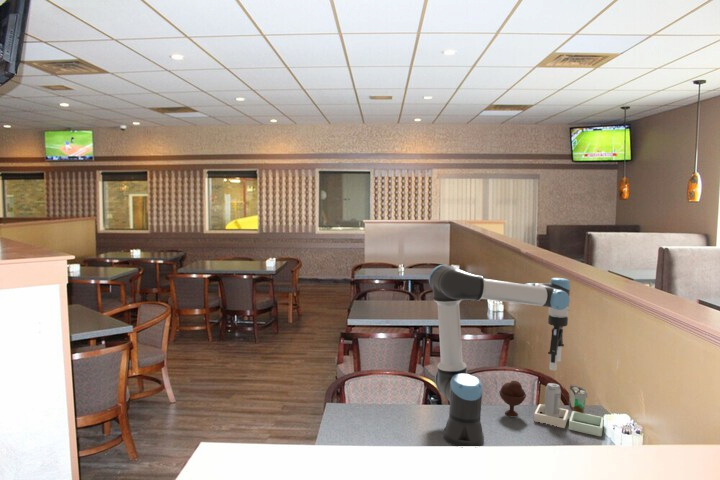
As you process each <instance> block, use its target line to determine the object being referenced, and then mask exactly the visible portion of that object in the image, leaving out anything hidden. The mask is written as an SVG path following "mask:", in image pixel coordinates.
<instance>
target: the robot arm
mask: <svg viewBox="0 0 720 480" xmlns="http://www.w3.org/2000/svg"><path fill="white" fill-rule="evenodd" d="M428 276H429V277H428V283H429V285H430V288H431V289H432V297H433V298H432V299H433V302H435V303H436V304H437V317H438V321H437V322H438V334H439V335H438V336H439V350H440V351H439V352H440V353H439V354H440V361H439V362H438V364H437V371H436V373H435V375H434V376H435V377H434V383H435V386H436V388H437V390H438V392H440V394H442V395H443V396H444V398H445V399H446V400H447V401H448V402H449V411H448V412H449V414H448V415H449V416H448V418H447V421H446V424H445V427H444V428H443V439H444V440H445V442H447V443H448V444H450V445H453V446H455V447H458V446H479V447H480V446H483V445H484V443H485V433H484V431H483V427H482V422H481V416H482V415H481V414H482V401H483V398H482V397H483V383H482V381H481V380H480V379H479V378H478V377H476V376H475V375H472V374H469V373H468V371H467V370H468V369H467V367H468V366H467V363H465V362H464V361H463V347H462V330H461V329H462V328H461V312H460V311H461V310H460V303H461V302H462V301H476V302H478V301H481V300H489V301H498V302H504V303H506V302H507V303H514V304H523V305H530V306H539V307H545V308H548V320H547V323H548V325H550V326H552V329H551V337H550V338H551V339H550V346H549V347H550V348H549V351H548V353H547V354H549V365H548V366H549V368H548V370H550V371H555V372H556V371H557V369H558V367H557V365H558V363H562V352H563V351H562V350H563V347H565V344H564V343H563V340H564V339H563V335H564V334H563V333H564V329H563V328H564V327H567V326H568V322H569V317H568V316H569V312H570V310H571V308H569V306H570V301H571V298H570V293H571V292H570V291H571V285H570V284H571V282H570V280H569V279H567V278H562V277H551V279H550V281H549V282H548V283H546V282H543V283H542V282H539V283H538V282H529V283H527V282H526V283H524V284H523V283H516V282H511V281H503V280H496V279H489V278H484V277H483V276H482V275H479V274H473V273H470V272H468V271H465V270H463V269H461V268H457V267H454V266H453V265H450V264H440V265H437V266H436V267H434V268H433V269H432V270H431V271H430V274H429V275H428Z"/></svg>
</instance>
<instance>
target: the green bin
mask: <svg viewBox="0 0 720 480" xmlns="http://www.w3.org/2000/svg"><path fill="white" fill-rule="evenodd" d="M603 420H604V416H599V415H594V414H589V413H585V412H584V413H580V412H576V411H572V412H571V414H570V417H569V419H568V421H569V422H568V430H569V431H575V432H579V433H583V434H588V435H592V436H597V437H602V434H603V431H604V429H603V428H604V421H605V420H604V421H603Z"/></svg>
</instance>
